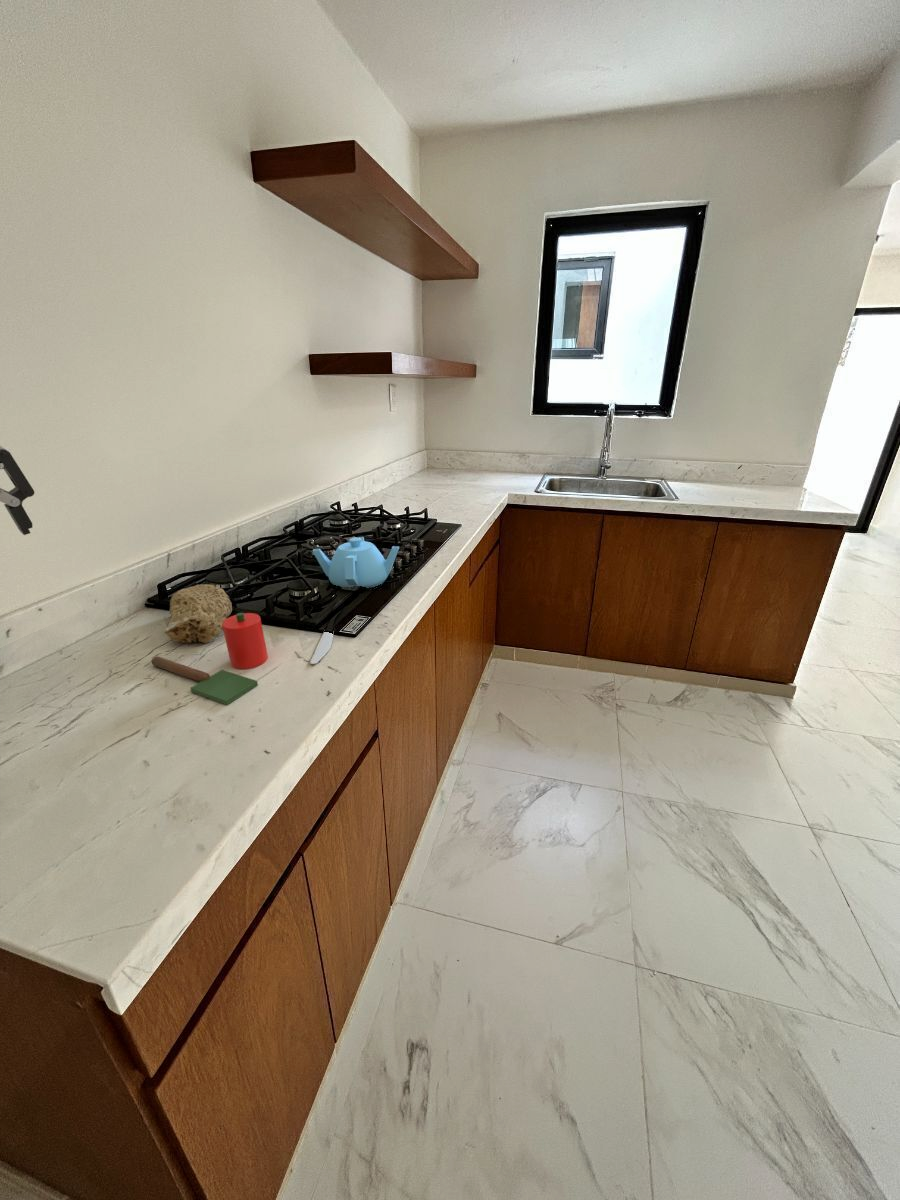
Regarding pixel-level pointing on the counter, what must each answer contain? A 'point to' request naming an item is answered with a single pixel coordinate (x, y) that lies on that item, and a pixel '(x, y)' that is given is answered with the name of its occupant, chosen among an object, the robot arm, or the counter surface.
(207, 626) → the sponge
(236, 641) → the pepper
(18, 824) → the counter surface
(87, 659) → the counter surface
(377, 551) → the teapot
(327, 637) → the butter knife
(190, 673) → the spatula
